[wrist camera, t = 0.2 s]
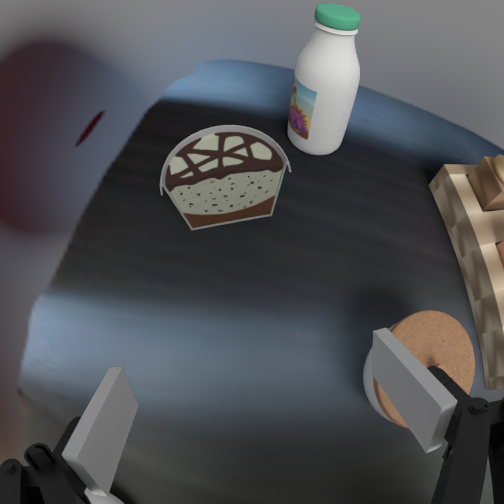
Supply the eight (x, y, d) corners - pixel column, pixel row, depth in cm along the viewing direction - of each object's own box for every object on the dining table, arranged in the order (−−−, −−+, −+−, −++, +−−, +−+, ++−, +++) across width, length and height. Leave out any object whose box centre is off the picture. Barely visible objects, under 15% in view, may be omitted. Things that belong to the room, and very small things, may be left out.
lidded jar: (448, 357, 28) (500, 346, 20) (400, 437, 25) (447, 452, 17) (384, 306, 31) (426, 280, 22) (328, 387, 28) (358, 391, 19)
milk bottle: (340, 123, 41) (370, 6, 23) (341, 161, 38) (382, 32, 20) (289, 115, 42) (301, -7, 23) (284, 152, 39) (298, 15, 21)
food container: (272, 172, 38) (276, 113, 29) (284, 213, 35) (293, 158, 26) (175, 189, 37) (154, 134, 28) (179, 233, 35) (155, 182, 25)
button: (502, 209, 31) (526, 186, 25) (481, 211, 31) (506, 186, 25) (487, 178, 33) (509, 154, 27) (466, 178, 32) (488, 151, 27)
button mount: (534, 358, 27) (557, 353, 22) (486, 389, 26) (511, 387, 22) (480, 183, 38) (496, 165, 33) (428, 185, 37) (444, 164, 33)
